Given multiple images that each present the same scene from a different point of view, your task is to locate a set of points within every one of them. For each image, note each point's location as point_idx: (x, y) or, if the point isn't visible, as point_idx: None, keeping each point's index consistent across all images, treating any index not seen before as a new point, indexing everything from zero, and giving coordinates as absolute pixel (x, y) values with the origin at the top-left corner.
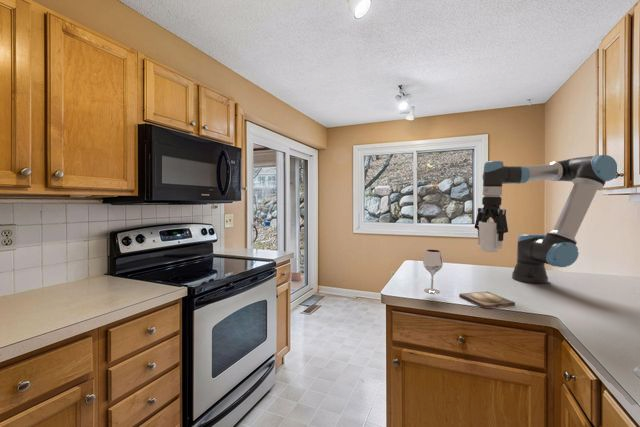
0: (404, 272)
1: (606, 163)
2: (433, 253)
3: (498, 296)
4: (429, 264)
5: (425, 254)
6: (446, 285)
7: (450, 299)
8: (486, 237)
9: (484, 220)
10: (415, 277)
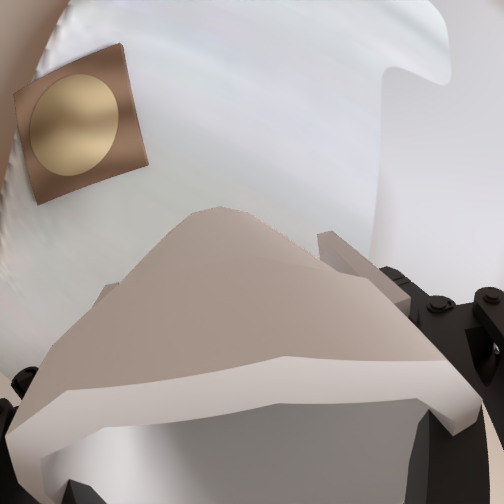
0: (438, 11)
1: None
2: None
3: (86, 179)
4: None
5: None
6: (271, 53)
7: (98, 10)
8: (143, 261)
9: (420, 488)
10: (381, 3)
